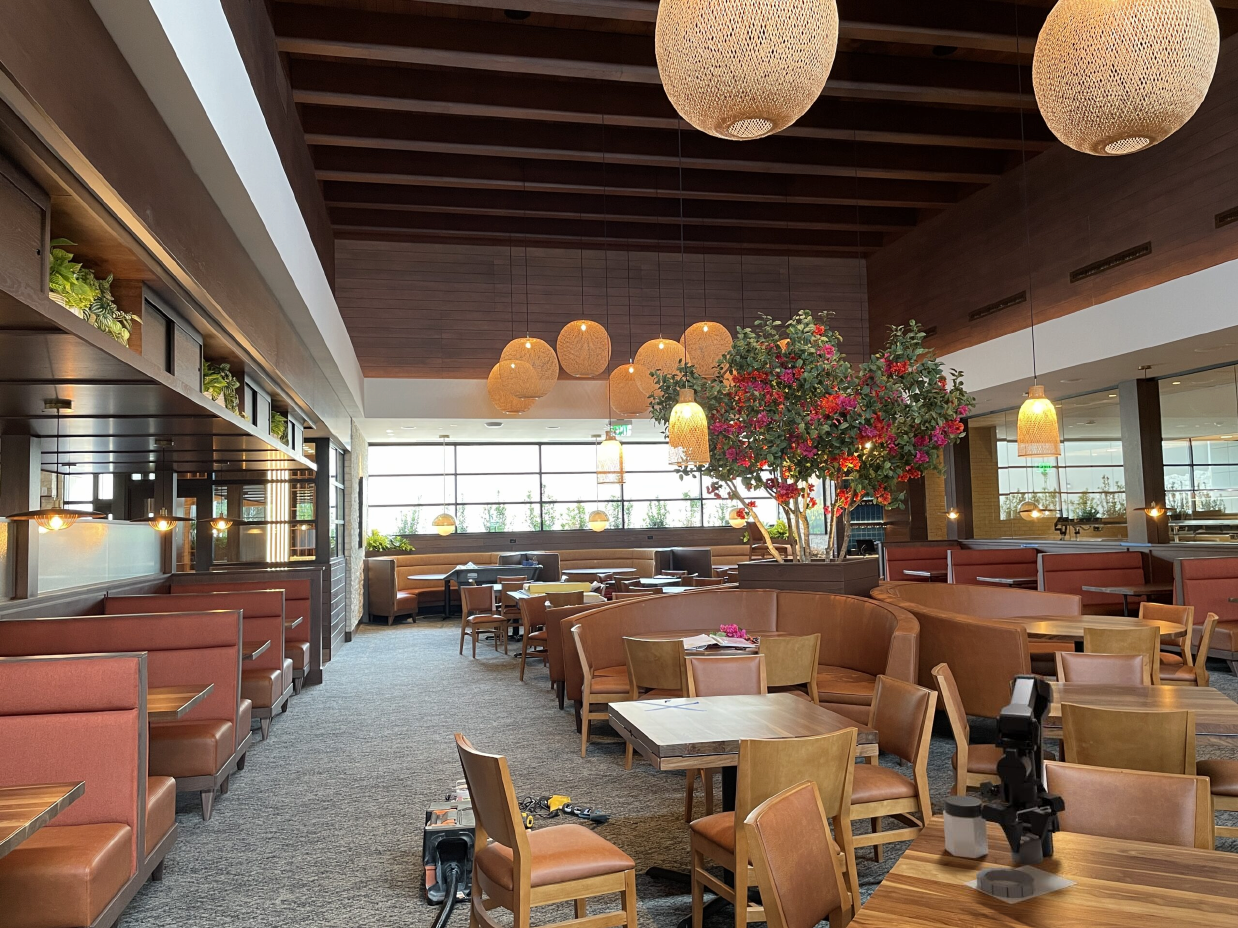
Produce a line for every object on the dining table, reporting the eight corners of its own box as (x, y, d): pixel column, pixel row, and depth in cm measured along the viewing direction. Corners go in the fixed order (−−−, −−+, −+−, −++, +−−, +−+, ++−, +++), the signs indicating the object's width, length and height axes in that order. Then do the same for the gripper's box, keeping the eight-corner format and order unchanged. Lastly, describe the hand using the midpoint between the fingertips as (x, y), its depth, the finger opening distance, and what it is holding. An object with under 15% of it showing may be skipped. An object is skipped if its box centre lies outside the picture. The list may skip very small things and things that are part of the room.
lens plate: (1028, 869, 192) (1027, 855, 192) (1078, 888, 181) (1077, 872, 181) (963, 888, 183) (962, 872, 184) (1011, 908, 172) (1010, 892, 173)
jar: (970, 864, 196) (966, 808, 197) (939, 854, 202) (935, 800, 203) (995, 855, 200) (991, 800, 201) (963, 845, 207) (959, 792, 208)
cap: (1025, 850, 191) (1023, 830, 191) (1049, 859, 186) (1047, 838, 186) (1005, 857, 188) (1002, 836, 189) (1029, 866, 183) (1026, 845, 183)
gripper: (1019, 759, 200) (1025, 831, 198) (958, 771, 191) (963, 846, 190) (1063, 769, 190) (1069, 845, 188) (1000, 783, 181) (1006, 862, 180)
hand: (1026, 849), depth 187 cm, fingers closed on cap, 6 cm apart
